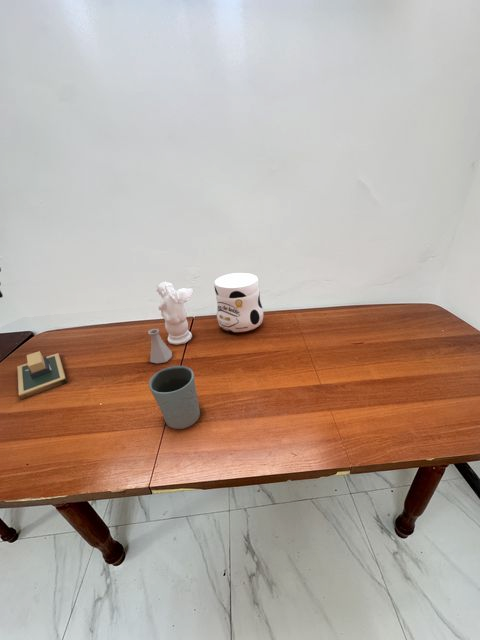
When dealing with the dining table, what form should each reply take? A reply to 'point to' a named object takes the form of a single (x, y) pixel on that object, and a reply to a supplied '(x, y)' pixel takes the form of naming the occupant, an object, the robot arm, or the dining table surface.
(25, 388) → the slate
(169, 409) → the grey cup
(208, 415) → the dining table surface
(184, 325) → the cherub figurine
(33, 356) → the eraser
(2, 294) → the robot arm
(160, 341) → the flask
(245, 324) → the milk container
